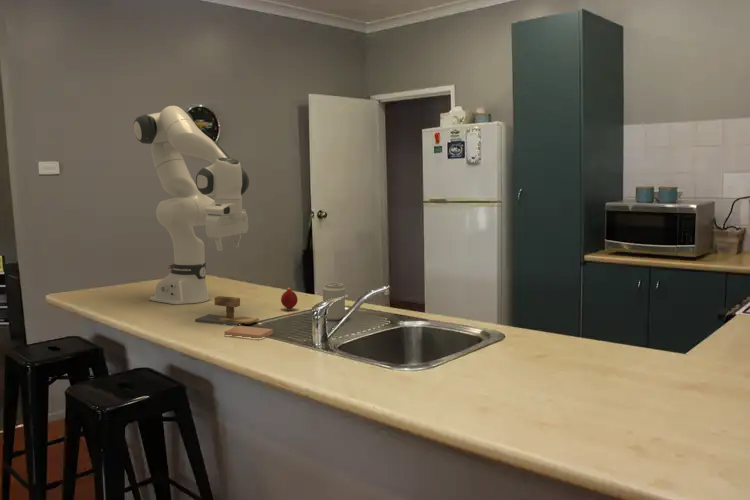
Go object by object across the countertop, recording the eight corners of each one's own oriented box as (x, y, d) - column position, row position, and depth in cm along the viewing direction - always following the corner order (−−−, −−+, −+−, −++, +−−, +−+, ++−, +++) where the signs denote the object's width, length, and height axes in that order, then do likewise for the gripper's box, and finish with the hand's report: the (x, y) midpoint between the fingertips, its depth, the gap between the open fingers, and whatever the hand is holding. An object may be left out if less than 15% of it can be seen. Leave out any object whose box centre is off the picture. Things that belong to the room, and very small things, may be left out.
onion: (299, 308, 234) (298, 286, 233) (295, 311, 228) (295, 289, 227) (283, 307, 235) (283, 286, 234) (279, 311, 229) (279, 289, 228)
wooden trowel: (211, 320, 211) (211, 298, 210) (222, 316, 217) (221, 295, 216) (249, 324, 206) (249, 301, 205) (258, 320, 212) (258, 298, 211)
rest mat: (195, 321, 212) (195, 319, 212) (209, 316, 220) (209, 314, 219) (237, 326, 207) (237, 323, 207) (250, 320, 214) (250, 318, 214)
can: (349, 318, 219) (349, 283, 218) (333, 322, 214) (333, 286, 212) (334, 315, 224) (334, 281, 223) (318, 318, 219) (318, 283, 218)
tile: (224, 331, 194) (259, 335, 190) (238, 325, 202) (272, 329, 198) (224, 337, 194) (259, 341, 191) (238, 331, 202) (272, 335, 198)
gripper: (237, 205, 224) (236, 244, 226) (202, 208, 205) (202, 251, 207) (253, 206, 222) (252, 246, 224) (219, 210, 203) (218, 253, 205)
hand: (228, 248), depth 215 cm, fingers open, 8 cm apart
